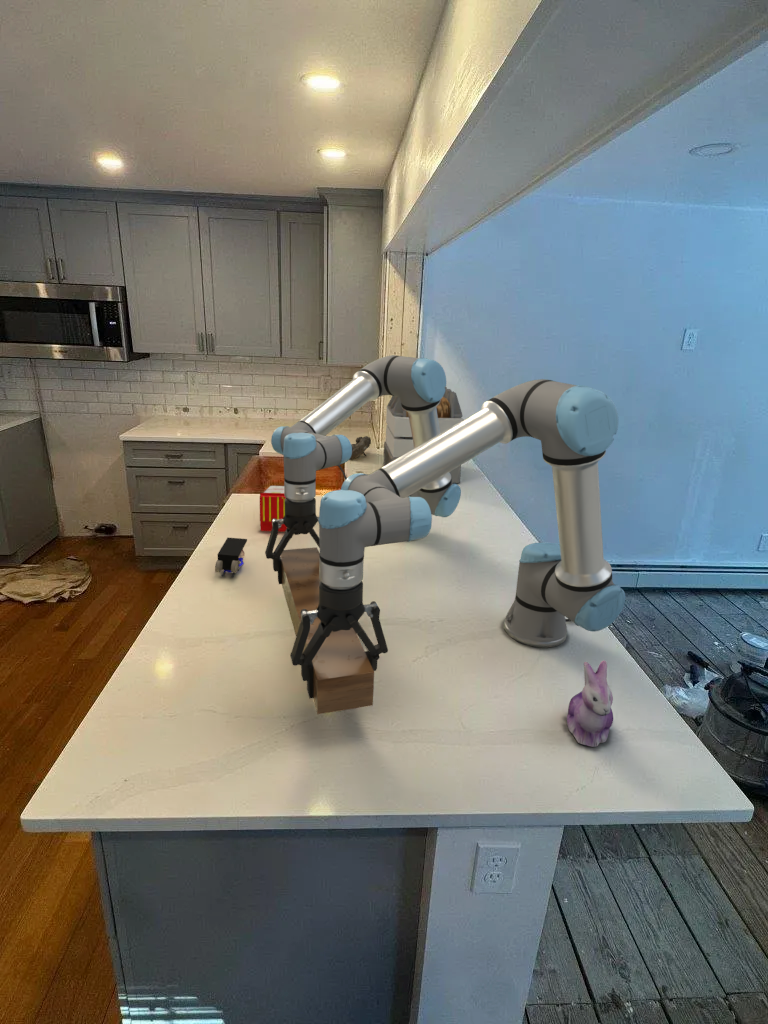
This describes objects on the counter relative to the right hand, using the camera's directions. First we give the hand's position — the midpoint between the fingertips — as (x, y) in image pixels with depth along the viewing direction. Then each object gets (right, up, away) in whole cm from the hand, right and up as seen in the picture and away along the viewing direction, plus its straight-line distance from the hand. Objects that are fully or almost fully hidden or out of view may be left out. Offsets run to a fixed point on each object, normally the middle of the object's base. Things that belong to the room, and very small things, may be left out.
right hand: (339, 689), depth 104 cm
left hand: (-13, +15, +41) cm, 46 cm away
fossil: (-5, +63, +198) cm, 207 cm away
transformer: (+25, +51, +171) cm, 180 cm away
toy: (-31, +30, +105) cm, 113 cm away
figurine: (+48, -10, +4) cm, 49 cm away
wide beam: (-7, +7, +21) cm, 23 cm away
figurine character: (-37, +16, +63) cm, 75 cm away
